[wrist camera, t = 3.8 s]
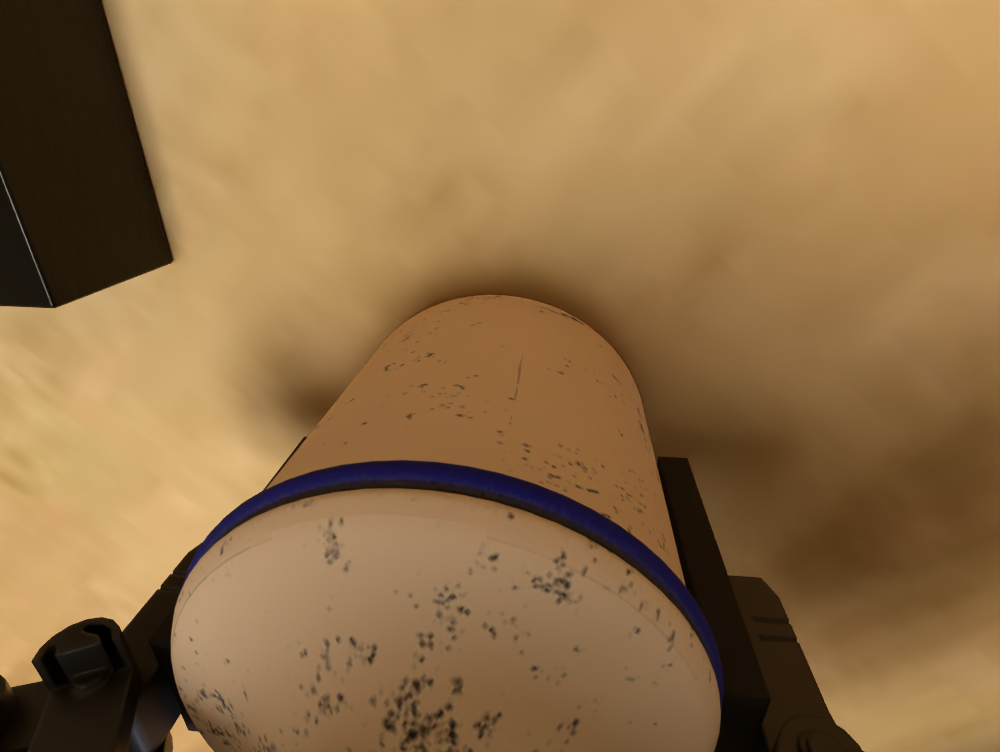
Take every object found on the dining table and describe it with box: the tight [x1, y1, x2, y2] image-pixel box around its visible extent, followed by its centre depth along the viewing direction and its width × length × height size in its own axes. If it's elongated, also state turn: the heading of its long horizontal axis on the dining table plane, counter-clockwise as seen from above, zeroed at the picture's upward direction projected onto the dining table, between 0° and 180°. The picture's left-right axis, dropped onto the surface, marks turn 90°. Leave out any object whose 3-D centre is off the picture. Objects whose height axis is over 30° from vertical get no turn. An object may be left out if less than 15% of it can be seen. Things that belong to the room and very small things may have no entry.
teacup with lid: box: [171, 295, 724, 752], centre depth 12 cm, size 12×9×12 cm
